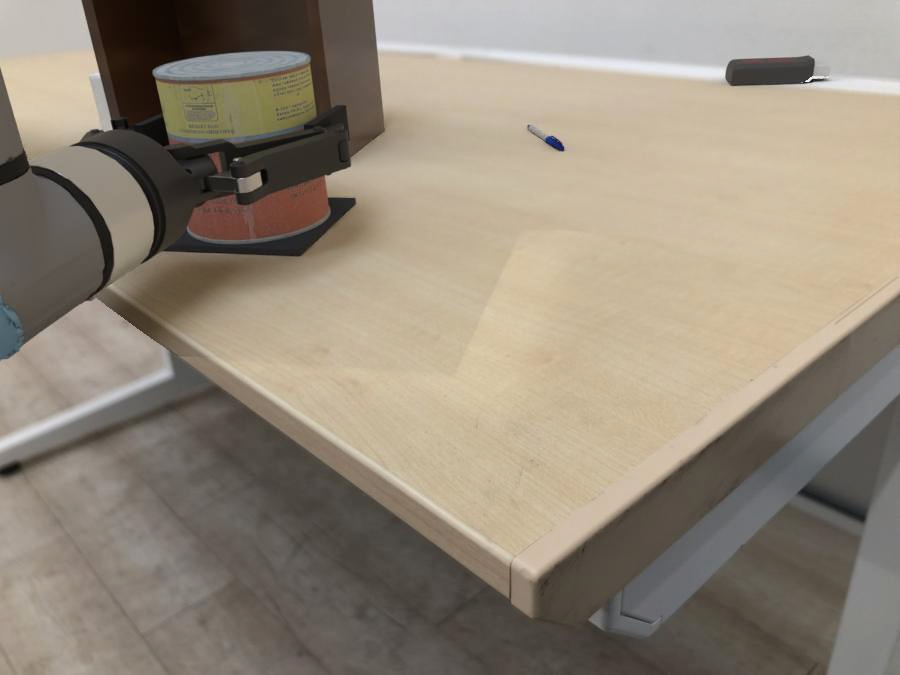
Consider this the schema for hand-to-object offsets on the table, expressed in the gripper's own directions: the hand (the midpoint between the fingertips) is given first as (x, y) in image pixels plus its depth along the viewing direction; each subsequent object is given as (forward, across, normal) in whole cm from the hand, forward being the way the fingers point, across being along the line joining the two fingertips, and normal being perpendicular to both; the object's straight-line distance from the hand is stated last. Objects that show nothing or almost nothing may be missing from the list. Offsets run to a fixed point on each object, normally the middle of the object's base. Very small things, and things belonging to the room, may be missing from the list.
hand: (263, 122), depth 64 cm
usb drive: (+56, +45, -8) cm, 72 cm away
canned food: (-3, 0, -7) cm, 8 cm away
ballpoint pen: (+25, +19, -8) cm, 32 cm away
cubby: (+21, -12, -7) cm, 25 cm away
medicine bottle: (+29, -31, -8) cm, 43 cm away
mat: (-3, 0, -7) cm, 8 cm away
